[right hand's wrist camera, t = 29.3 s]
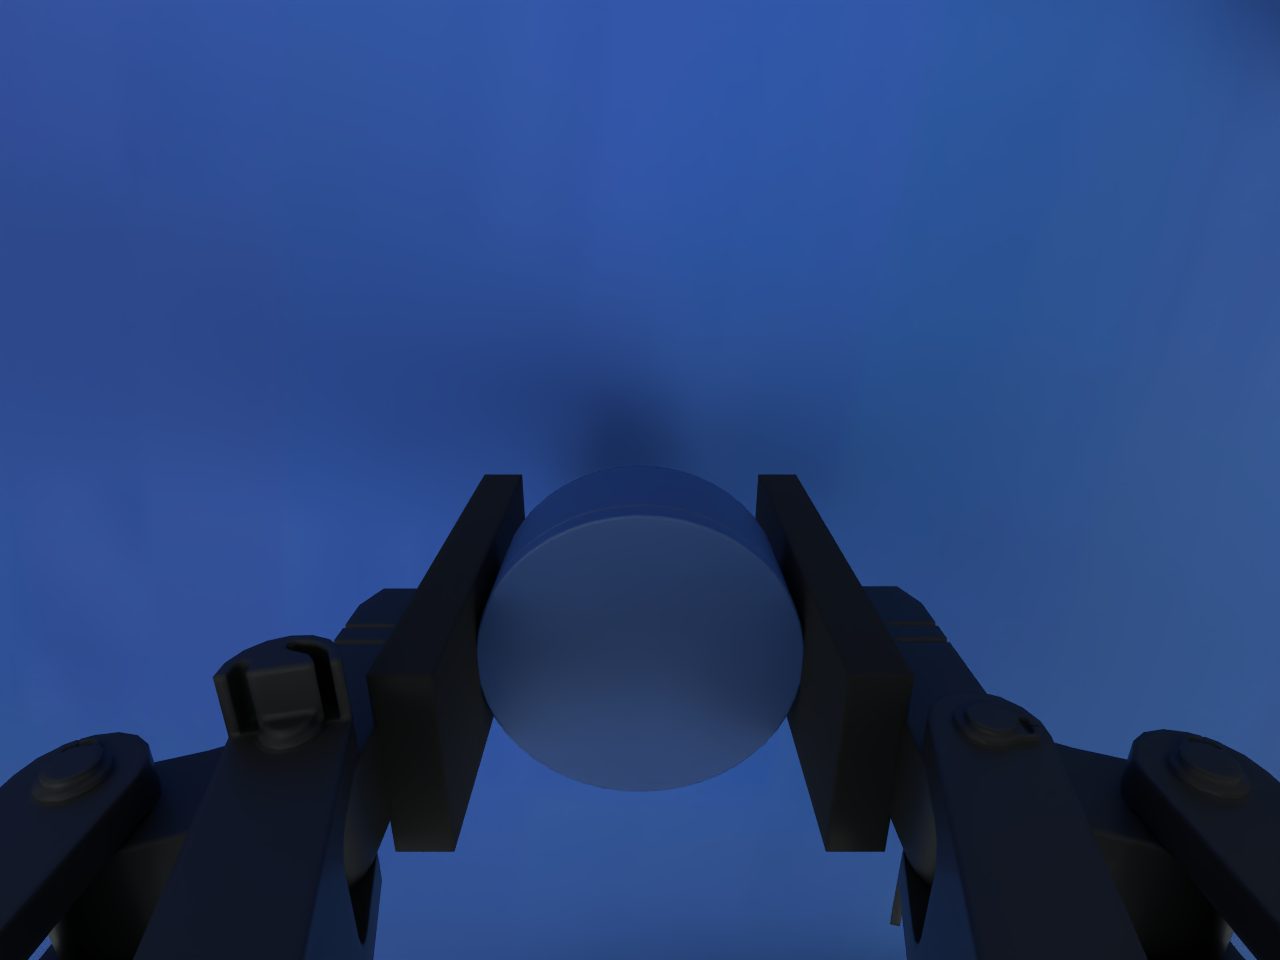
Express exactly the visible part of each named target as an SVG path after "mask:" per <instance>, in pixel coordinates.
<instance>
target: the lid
mask: <svg viewBox="0 0 1280 960" xmlns="http://www.w3.org/2000/svg"><path fill="white" fill-rule="evenodd" d="M476 647H477V658H478V669H479V678H480V685H481V688H482V691H483V694H484V696H485V699H486V702H487V704H488V706H489V708H490V710H491V711H492V713H493V715H494V717H495V719H496V720H497V721H498V723H499V724H500V726H501V727H502V728H503V730H504V731H505V732H506V734H507V735H508V736H509V737H510V738H511V739H512V740H513V741H514V742H515V743H516V744H517V745H518V746H519V747H520V748H521V749H522V750H524V751H525V752H526V753H527V754H529V755H530V756H531V757H532V758H534V759H535V760H537V761H538V762H540V763H541V764H543V765H545V766H546V767H548V768H549V769H551V770H553V771H555V772H557V773H559V774H562V775H564V776H566V777H568V778H571V779H574V780H576V781H579V782H582V783H585V784H589V785H593V786H597V787H601V788H606V789H613V790H620V791H640V792H645V791H660V790H668V789H674V788H680V787H684V786H688V785H691V784H695V783H699V782H702V781H704V780H707V779H709V778H712V777H715V776H717V775H719V774H721V773H723V772H725V771H727V770H729V769H731V768H733V767H735V766H736V765H738V764H739V763H741V762H742V761H744V760H745V759H747V758H748V757H749V756H751V755H752V754H753V753H754V752H756V751H757V750H758V749H759V748H760V747H761V746H762V745H764V744H765V743H766V742H767V741H768V739H769V738H770V737H771V736H772V735H773V734H774V733H775V732H776V730H777V729H778V728H779V726H780V725H781V723H782V722H783V720H784V719H785V718H786V716H787V715H788V713H789V711H790V709H791V707H792V705H793V702H794V700H795V698H796V696H797V692H798V689H799V686H800V682H801V673H802V663H803V652H804V637H803V631H802V625H801V622H800V619H799V616H798V613H797V609H796V607H795V604H794V601H793V599H792V597H791V594H790V591H789V589H788V586H787V584H786V581H785V579H784V576H783V573H782V571H781V568H780V566H779V563H778V561H777V558H776V556H775V553H774V551H773V548H772V546H771V544H770V542H769V540H768V538H767V536H766V534H765V532H764V531H763V529H762V528H761V526H760V525H759V523H758V522H757V520H756V519H755V518H754V517H753V516H752V514H751V513H750V512H749V511H748V510H747V509H746V508H745V507H744V506H743V505H742V504H741V503H740V502H738V501H737V500H736V499H735V498H733V497H732V496H731V495H730V494H729V493H727V492H725V491H724V490H722V489H720V488H719V487H717V486H716V485H714V484H712V483H710V482H708V481H705V480H703V479H701V478H699V477H696V476H694V475H691V474H687V473H684V472H681V471H677V470H672V469H666V468H660V467H646V466H633V467H620V468H614V469H609V470H604V471H599V472H596V473H593V474H590V475H587V476H584V477H581V478H579V479H577V480H575V481H573V482H571V483H569V484H567V485H565V486H563V487H561V488H560V489H558V490H557V491H555V492H554V493H552V494H551V495H549V496H548V497H547V498H546V499H544V500H543V501H542V502H541V503H540V504H539V505H538V506H536V507H535V508H534V509H533V510H532V512H531V513H530V514H529V515H528V516H527V517H526V519H525V520H524V521H523V522H522V524H521V525H520V527H519V528H518V530H517V532H516V533H515V535H514V536H513V538H512V541H511V543H510V545H509V547H508V550H507V552H506V554H505V557H504V559H503V562H502V565H501V567H500V570H499V572H498V575H497V577H496V580H495V582H494V585H493V587H492V590H491V593H490V595H489V598H488V600H487V603H486V605H485V608H484V610H483V613H482V617H481V620H480V624H479V628H478V633H477V646H476Z"/></svg>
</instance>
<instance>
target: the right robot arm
mask: <svg viewBox="0 0 1280 960" xmlns="http://www.w3.org/2000/svg"><path fill="white" fill-rule="evenodd" d="M524 520H525V513H524V497H523V482H522V475H484V477H483V478H482V480H481V482H480V483H479V485H478V487H477V489H476V490H475V492H474V494H473V495H472V497H471V499H470V500H469V502H468V504H467V505H466V507H465V509H464V510H463V512H462V514H461V516H460V517H459V519H458V521H457V522H456V524H455V526H454V527H453V529H452V531H451V532H450V534H449V536H448V538H447V539H446V541H445V543H444V544H443V546H442V548H441V549H440V551H439V553H438V554H437V556H436V558H435V560H434V561H433V563H432V565H431V566H430V568H429V570H428V571H427V573H426V575H425V576H424V578H423V580H422V581H421V583H420V585H419V587H418V588H417V589H383V590H381V591H380V592H378V593H377V594H375V595H374V596H372V597H371V598H369V599H368V600H366V601H365V602H363V603H362V604H360V605H359V607H358V608H357V609H356V611H355V612H354V614H353V615H352V616H351V618H350V619H349V621H348V622H347V623H346V628H343V629H342V630H341V632H340V633H339V635H338V636H337V637H336V639H335V640H334V642H332V641H331V640H330V639H326V638H322V637H318V636H314V635H300V636H287V637H283V638H278V639H274V640H269V641H266V642H263V643H261V644H258V645H256V646H253V647H251V648H249V649H246V650H244V651H242V652H241V653H239V654H238V655H236V656H235V657H233V658H232V659H230V660H229V661H227V662H226V663H224V665H223V666H222V667H221V668H220V669H219V670H218V672H217V673H216V674H215V675H214V676H213V680H214V683H215V687H216V691H217V695H218V699H219V702H220V706H221V710H222V714H223V717H224V721H225V725H226V729H227V732H228V736H229V738H228V740H227V743H226V745H225V746H223V747H220V748H216V749H213V750H209V751H205V752H200V753H196V754H191V755H186V756H182V757H177V758H173V759H168V760H163V761H159V762H154V761H153V757H152V754H151V751H150V748H149V745H148V743H146V742H145V741H144V740H143V739H142V738H140V737H139V736H138V735H133V734H127V733H120V732H117V733H109V734H100V735H93V736H90V737H86V738H82V739H80V740H75V741H73V742H70V743H67V744H64V745H62V746H61V747H59V748H57V749H55V750H53V751H51V752H49V753H47V754H45V755H43V756H41V757H39V758H37V759H36V760H34V761H33V762H31V763H30V764H29V765H27V766H26V767H25V768H23V769H22V770H20V771H19V772H18V773H16V774H15V775H14V776H12V777H11V778H10V779H9V780H8V781H7V782H6V783H5V784H4V785H2V786H1V787H0V960H28V959H29V958H30V956H31V955H32V954H33V953H34V952H35V950H36V949H37V948H38V947H39V945H40V944H41V943H42V942H43V941H44V939H45V938H46V937H47V936H48V935H49V938H50V940H51V942H52V944H51V945H50V947H49V948H48V949H47V950H46V952H45V953H44V954H43V955H42V957H41V958H40V959H39V960H373V956H374V947H375V938H376V929H377V920H378V911H379V902H380V892H381V883H382V878H381V871H380V864H379V859H378V853H377V851H378V849H379V846H380V844H381V842H382V839H383V837H384V834H385V832H386V829H387V827H388V824H389V822H390V821H391V827H392V833H393V839H394V845H395V850H396V852H454V851H455V848H456V844H457V841H458V837H459V834H460V831H461V827H462V824H463V820H464V817H465V813H466V810H467V806H468V803H469V800H470V796H471V793H472V789H473V786H474V782H475V779H476V775H477V772H478V769H479V765H480V762H481V758H482V755H483V751H484V748H485V744H486V741H487V738H488V734H489V731H490V727H491V724H492V720H493V717H494V715H493V713H492V711H491V710H490V708H489V706H488V704H487V702H486V699H485V696H484V694H483V691H482V688H481V685H480V678H479V669H478V658H477V647H476V646H477V633H478V628H479V624H480V620H481V617H482V613H483V610H484V608H485V605H486V603H487V600H488V598H489V595H490V593H491V590H492V587H493V585H494V582H495V580H496V577H497V575H498V572H499V570H500V567H501V565H502V562H503V559H504V557H505V554H506V552H507V550H508V547H509V545H510V543H511V541H512V538H513V536H514V535H515V533H516V532H517V530H518V528H519V527H520V525H521V524H522V522H523V521H524ZM756 520H757V522H758V523H759V525H760V526H761V528H762V529H763V531H764V532H765V534H766V536H767V538H768V540H769V542H770V544H771V546H772V548H773V551H774V553H775V556H776V558H777V561H778V563H779V566H780V568H781V571H782V573H783V576H784V579H785V581H786V584H787V586H788V589H789V591H790V594H791V597H792V599H793V601H794V604H795V607H796V609H797V613H798V616H799V619H800V622H801V625H802V631H803V637H804V652H803V663H802V673H801V682H800V686H799V689H798V692H797V696H796V698H795V700H794V702H793V705H792V707H791V709H790V711H789V713H788V715H787V719H788V722H789V726H790V729H791V733H792V736H793V740H794V743H795V746H796V750H797V753H798V757H799V760H800V764H801V767H802V771H803V774H804V777H805V781H806V784H807V788H808V791H809V795H810V798H811V802H812V805H813V808H814V812H815V815H816V819H817V822H818V826H819V829H820V833H821V836H822V839H823V843H824V846H825V850H826V852H885V847H886V841H887V835H888V830H889V824H890V818H891V820H892V822H893V825H894V827H895V830H896V832H897V834H898V837H899V839H900V842H901V844H902V847H903V853H902V859H901V864H900V870H899V875H898V881H897V886H896V891H895V897H894V902H893V908H892V915H891V922H890V924H892V925H897V926H900V921H901V916H902V918H903V927H904V936H905V945H906V954H907V960H1245V959H1244V958H1243V957H1242V956H1241V954H1240V953H1239V952H1238V951H1237V949H1236V948H1235V947H1234V946H1233V944H1232V943H1231V942H1230V939H1231V937H1232V935H1233V932H1235V933H1236V935H1237V936H1238V937H1239V938H1240V939H1241V941H1242V942H1243V943H1244V944H1245V946H1246V947H1247V948H1248V949H1249V950H1250V952H1251V953H1252V954H1253V955H1254V957H1255V958H1256V959H1257V960H1280V782H1279V781H1277V780H1276V779H1275V778H1274V777H1273V776H1272V775H1271V774H1270V773H1269V772H1267V771H1266V770H1264V769H1263V768H1262V767H1260V766H1259V765H1257V764H1256V763H1255V762H1253V761H1252V760H1251V759H1249V758H1248V757H1246V756H1245V755H1243V754H1241V753H1239V752H1237V751H1235V750H1233V749H1231V748H1229V747H1227V746H1225V745H1223V744H1221V743H1220V742H1217V741H1215V740H1212V739H1209V738H1206V737H1201V736H1200V735H1196V734H1192V733H1189V732H1181V731H1173V730H1165V729H1161V730H1155V731H1149V732H1144V733H1142V734H1141V735H1140V736H1139V737H1138V738H1136V739H1135V740H1134V741H1133V744H1132V747H1131V750H1130V753H1129V756H1128V759H1127V760H1126V759H1122V758H1117V757H1113V756H1108V755H1103V754H1099V753H1094V752H1090V751H1085V750H1080V749H1076V748H1072V747H1068V746H1064V745H1061V744H1057V743H1054V741H1053V739H1052V737H1051V735H1050V734H1049V733H1048V731H1047V730H1046V728H1045V727H1044V726H1043V724H1042V723H1041V721H1039V720H1038V719H1037V718H1036V717H1034V716H1033V715H1032V714H1030V713H1029V712H1028V711H1026V710H1025V709H1024V708H1022V707H1020V706H1018V705H1016V704H1014V703H1012V702H1010V701H1007V700H1005V699H1003V698H1001V697H998V696H994V695H990V694H987V693H986V692H985V691H984V689H983V688H982V687H981V685H980V684H979V682H978V681H977V680H976V678H975V677H974V675H973V674H972V673H971V671H970V670H969V668H968V667H967V666H966V664H965V663H964V661H963V660H962V659H961V657H960V656H959V655H958V653H957V652H956V650H955V649H954V648H953V646H952V645H951V643H950V642H947V638H946V636H945V635H944V634H943V632H942V631H941V630H940V628H939V627H938V626H935V621H934V620H933V618H932V617H931V616H930V614H929V613H928V611H927V610H926V609H925V607H924V606H923V604H922V603H921V602H919V601H918V600H916V599H915V598H913V597H912V596H910V595H909V594H907V593H906V592H904V591H903V590H901V589H900V588H899V587H897V586H861V584H860V582H859V581H858V579H857V577H856V576H855V574H854V572H853V571H852V569H851V567H850V565H849V564H848V562H847V560H846V559H845V557H844V555H843V554H842V552H841V550H840V549H839V547H838V545H837V544H836V542H835V540H834V538H833V537H832V535H831V533H830V532H829V530H828V528H827V527H826V525H825V523H824V522H823V520H822V518H821V517H820V515H819V513H818V511H817V510H816V508H815V506H814V505H813V503H812V501H811V500H810V498H809V496H808V495H807V493H806V491H805V489H804V488H803V486H802V484H801V483H800V481H799V479H798V478H797V476H796V475H758V489H757V504H756Z"/></svg>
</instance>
